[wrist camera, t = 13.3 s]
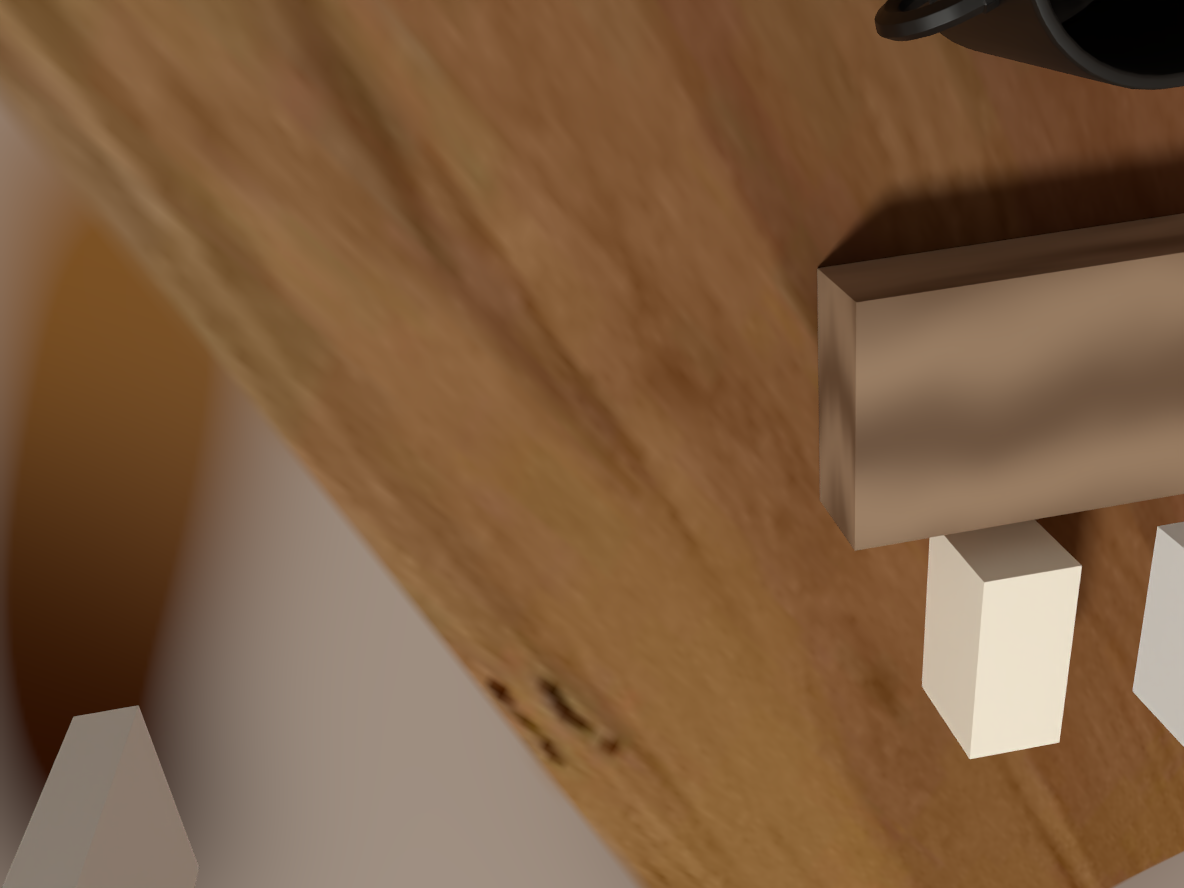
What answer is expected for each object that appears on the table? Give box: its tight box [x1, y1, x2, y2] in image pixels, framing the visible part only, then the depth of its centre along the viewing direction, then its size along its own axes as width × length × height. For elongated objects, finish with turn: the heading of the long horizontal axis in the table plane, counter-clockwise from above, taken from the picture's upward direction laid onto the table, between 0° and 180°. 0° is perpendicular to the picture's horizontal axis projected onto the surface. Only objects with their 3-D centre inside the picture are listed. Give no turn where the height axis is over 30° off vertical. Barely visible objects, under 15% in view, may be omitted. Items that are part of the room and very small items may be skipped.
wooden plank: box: [817, 213, 1184, 551], centre depth 42 cm, size 10×20×4 cm, turn 96°
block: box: [922, 520, 1082, 759], centre depth 47 cm, size 5×4×9 cm
